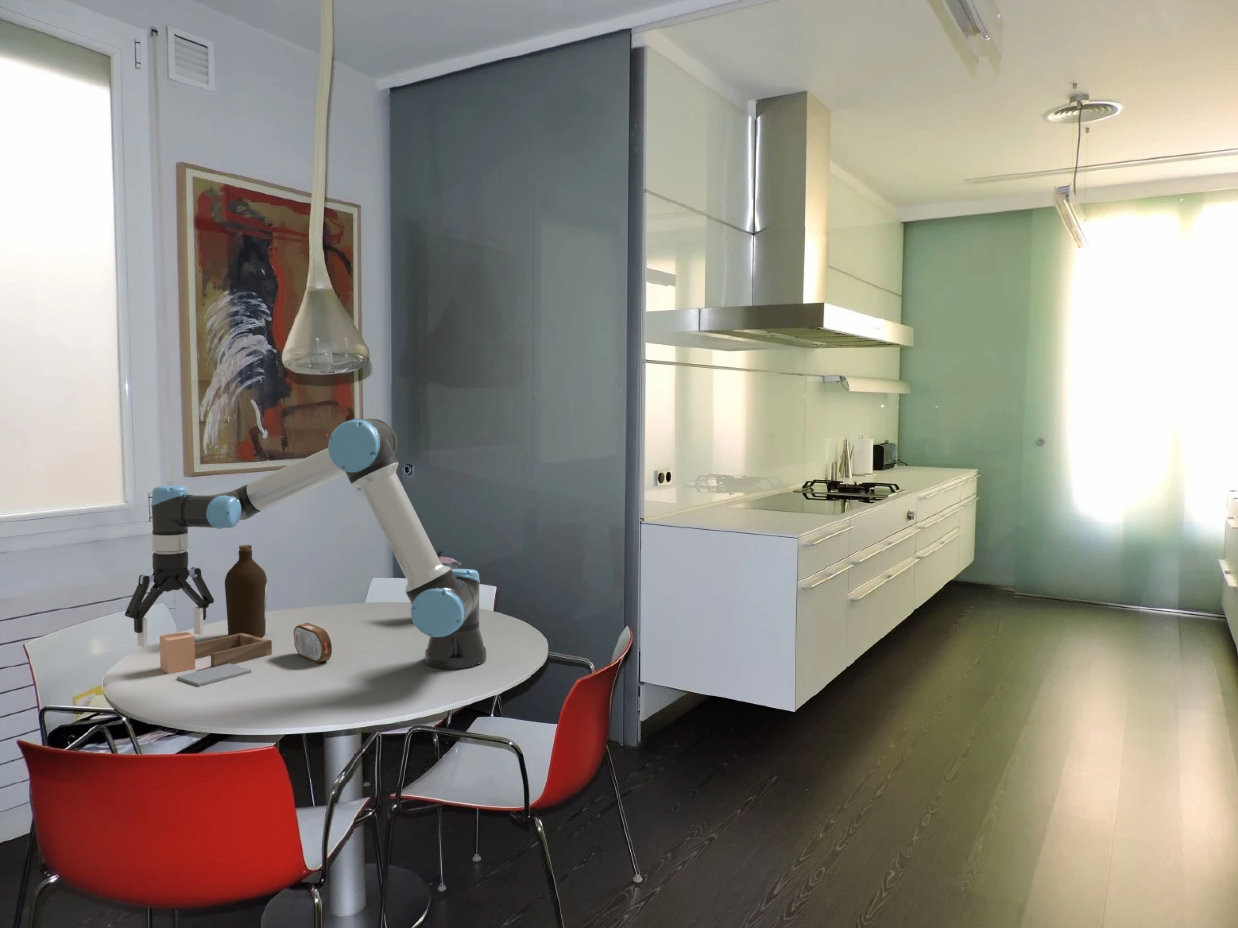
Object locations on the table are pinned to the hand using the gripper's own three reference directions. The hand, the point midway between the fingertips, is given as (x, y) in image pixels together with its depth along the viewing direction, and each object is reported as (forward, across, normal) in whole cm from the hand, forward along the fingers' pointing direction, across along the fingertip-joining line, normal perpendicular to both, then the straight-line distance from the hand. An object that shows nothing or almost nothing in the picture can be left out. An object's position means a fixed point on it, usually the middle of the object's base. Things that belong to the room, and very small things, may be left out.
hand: (171, 639), depth 210 cm
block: (+8, -2, 0) cm, 8 cm away
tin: (+7, -26, +18) cm, 32 cm away
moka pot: (+7, -75, +11) cm, 76 cm away
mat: (+7, -4, +12) cm, 14 cm away
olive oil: (+8, -29, -14) cm, 33 cm away
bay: (+7, -15, 0) cm, 16 cm away
